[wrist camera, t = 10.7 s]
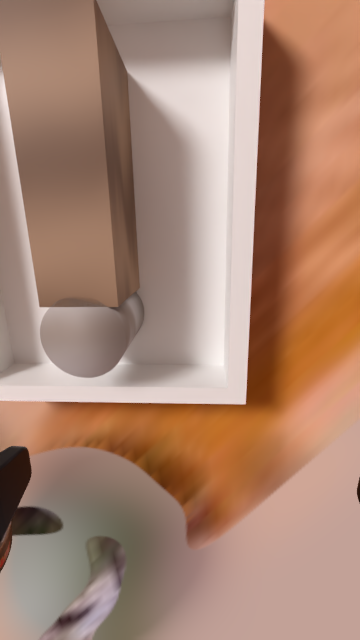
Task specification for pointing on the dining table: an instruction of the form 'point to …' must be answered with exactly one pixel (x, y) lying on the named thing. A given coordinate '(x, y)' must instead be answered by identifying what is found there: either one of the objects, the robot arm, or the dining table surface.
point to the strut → (74, 177)
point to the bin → (162, 212)
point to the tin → (5, 546)
